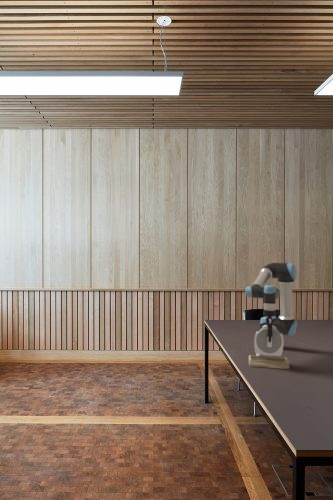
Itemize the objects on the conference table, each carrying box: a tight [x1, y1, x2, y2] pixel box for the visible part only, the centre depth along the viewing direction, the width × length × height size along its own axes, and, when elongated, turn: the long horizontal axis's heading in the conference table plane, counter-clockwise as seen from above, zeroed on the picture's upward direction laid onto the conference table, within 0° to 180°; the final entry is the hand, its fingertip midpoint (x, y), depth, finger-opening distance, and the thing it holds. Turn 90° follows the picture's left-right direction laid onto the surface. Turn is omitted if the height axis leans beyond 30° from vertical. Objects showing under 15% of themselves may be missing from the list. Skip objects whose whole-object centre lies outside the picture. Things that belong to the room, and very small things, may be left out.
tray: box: [248, 354, 290, 370], centre depth 272 cm, size 13×24×4 cm, turn 82°
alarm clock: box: [253, 325, 285, 359], centre depth 272 cm, size 18×8×20 cm, turn 75°
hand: (268, 345), depth 272 cm, fingers closed on alarm clock, 9 cm apart
